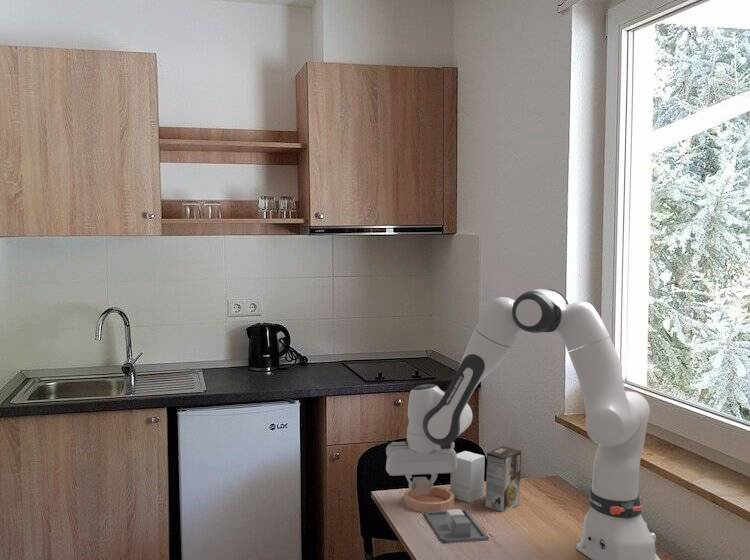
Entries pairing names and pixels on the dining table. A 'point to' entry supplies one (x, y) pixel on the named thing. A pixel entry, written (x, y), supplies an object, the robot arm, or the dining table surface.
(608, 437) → the robot arm
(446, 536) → the tray
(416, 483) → the cube
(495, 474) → the coffee box
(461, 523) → the grey cube
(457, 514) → the beige cube
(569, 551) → the dining table surface
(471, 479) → the supplement box
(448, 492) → the bowl
